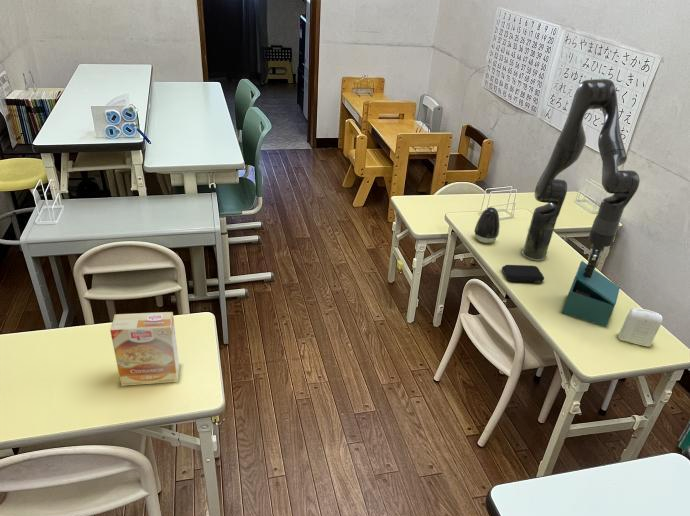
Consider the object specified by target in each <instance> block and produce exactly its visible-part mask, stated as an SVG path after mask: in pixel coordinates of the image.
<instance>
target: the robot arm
mask: <svg viewBox="0 0 690 516" xmlns="http://www.w3.org/2000/svg"><path fill="white" fill-rule="evenodd" d="M589 110H601V112H602V114H603V124H602V127H601V130H600V132H599V136H598V141H597V147H598V151H599V155H600V158H601V162H602V167H601V185H602V188H603V190H604V191H605V192H606V193H608V194H611V196H610V195H609V196H608V197H604V198H602V200H601V202H600V205H599V207H598V210H597V214H596V216H595V218H594V220H593V222H592V224H591V225H592V226H591V228H590V231H589V233H588V238H587V239H588V241H589V243H591V246H590V249H589V254H588V258H587V261H588V262H587V266H586V267H587V269H586V272H585V274H584V277H587V278H591V276H592V273H593V270H596V266H597V264H598V263H599V262H600V259H601V256H602V255H603V253H604V250H605V248H607V247H608V248H609V247H610V246H612V245H613V243H614V240H615V238H616V235H617V232H618V229H619V226H620V221H621V219H622V216H623V213H624V211H625V208H626V207H627V205H628V204H629V203H630V201H631V200H632V198H633V197H634V196H635V194H636V192H638V189H639V186H640V181H641V180H640V176H639V174H638V172H636V171H635V170H630V169H625V170H619V169H618V168H619V167H621V166H622V165H624V164H625V163H626V162H627V160H628V157H627V156H628V155H627V151H626V147H625V144H624V141H623V137H622V133H621V128H620V127H621V125H620V113H619V104H618V94H617V89H616V85H615V83H614V82H613V80H611V79H608V78H597V79H584V80H583V81H581V82H580V83H579V84H578V86H577V88H576V91H575V93H574V96H573V99H572V102H571V105H570V107H569V112H568V114H567V117H566V119H565V123H564V125H563V127H562V129H561V132H560V134H559V137H558V139H557V141H556V142H555V145H554V148H553V150H552V153H551V156H550V157H549V160H548V163H547V165H546V167H545V168H544V170H543V172H542V173H541V176H540V177H539V179H538V181H537V183H536V184H535V185H536V186H535V189H534V199H535V200H536V201H537V202H539V203H544V205H540V206H537V207H536V208H534V210H533V213H532V216H531V220H530V223H529V227H528V231H527V233H526V234H527V235H526V238H525V241H524V245H523V249H522V251H521V254H522V256H523V257H524V258H526V259H528V260H531V261H535V262H537V261H538V262H539V261H540V262H541V261H544V260H545V259H546V257H547V254H548V250H549V246H550V244H551V240H552V236H553V234H554V230H555V227H556V223H557V220H558V217H559V216H560V213H561V211H562V208H563V205H564V202H565V199H566V196H567V192H568V183H567V181H566V180H564V179H561V178H560V179H559V178H556V177H558V175H559V174H561V173H562V172H564V171H565V170H567V169H568V168H569V167H571V166H573V165H574V163H576V162H577V161H578V159H579V158H580V156H581V154H582V153H583V150H584V149H585V146H586V142H587V137H586V132H585V129H584V125H583V121H584V117H585V115H586V113H587V112H588V111H589ZM590 264H593V265H590Z"/></svg>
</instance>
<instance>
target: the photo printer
mask: <svg viewBox="0 0 690 516" xmlns="http://www.w3.org/2000/svg"><path fill="white" fill-rule="evenodd" d="M663 320H664V319H663V316H662V315H661V313H658V312H656V311H653V310H650V309H646V308H630V309H629V311H628V313H627V315H626V317H625V320H624V321H623V324H622V325H621V328H620V331H619V333H618V335H617V336H618V339H619V340H620V341H623V342H626V343H630V344H635V345H639V346H644V347H651V345H652V343H653V342H654V339H655V338H656V335H657V333H658V331H659V330H660V327H661V325H662V323H663Z"/></svg>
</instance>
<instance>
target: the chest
mask: <svg viewBox="0 0 690 516" xmlns="http://www.w3.org/2000/svg"><path fill="white" fill-rule="evenodd" d="M576 290H579V291H583V292H586V293H589V294H591V295H590V297H588V296H584V295H581V294H578V293H575V292H576ZM615 306H616V305H613V304H611V303H610V302H608V301H607V300H606V299H604V298H603V297H601V296H600V295H599V294H597V293H596V292H594V291H593V290H592V289H590V288H589V287H587V286H586V285H585V284H583V283H582V282H580V281H579V280H578V279H576V278H575V277H574V278H573V280H572V283H571V286H570V289H569V290H568V294H567V297H566V300H565V303H564V306H563V308H562V312H561V313H562V314H564V315H566V316H570V317H573V318H576V319H579V320H582V321H584V322H585V321H586V322H589V323H591V324H593V325H594V324H595V325H598V326H601V327H603V328H607V326H608V323H609V321H610V320H611V319H610V318H611V316H612V314H613V311H614V308H615Z"/></svg>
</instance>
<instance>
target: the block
mask: <svg viewBox="0 0 690 516" xmlns="http://www.w3.org/2000/svg"><path fill="white" fill-rule="evenodd" d="M575 293H578V294H581V295H584V296H588V297H590V295H591V294H589V293H586V292H583V291H579V290H576V292H575Z"/></svg>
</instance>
